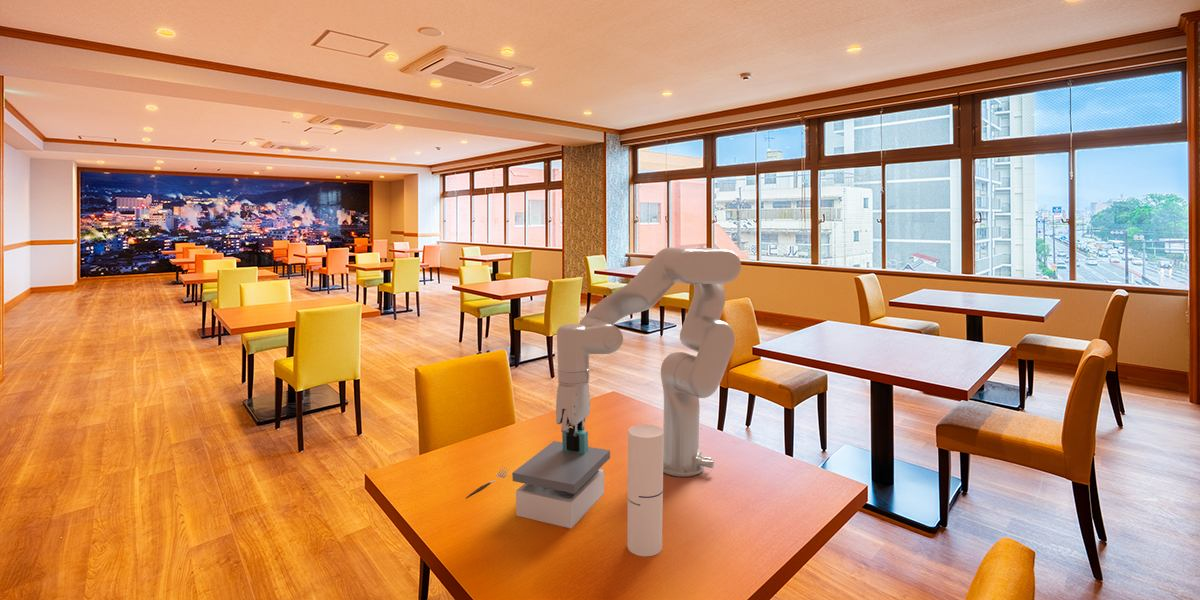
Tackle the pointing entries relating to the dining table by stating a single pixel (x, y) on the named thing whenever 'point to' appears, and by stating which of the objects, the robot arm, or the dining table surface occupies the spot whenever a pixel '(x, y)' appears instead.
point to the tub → (559, 502)
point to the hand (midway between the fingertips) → (575, 448)
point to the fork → (488, 483)
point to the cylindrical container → (645, 489)
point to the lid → (562, 465)
